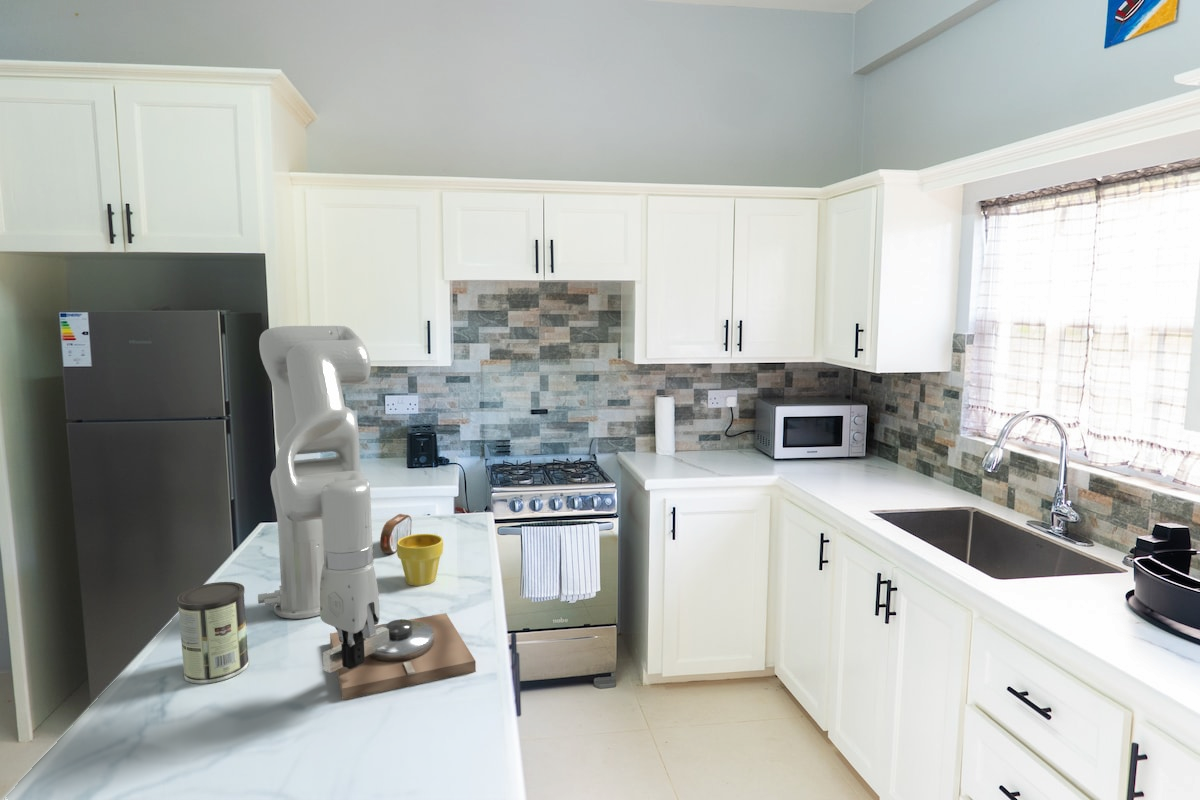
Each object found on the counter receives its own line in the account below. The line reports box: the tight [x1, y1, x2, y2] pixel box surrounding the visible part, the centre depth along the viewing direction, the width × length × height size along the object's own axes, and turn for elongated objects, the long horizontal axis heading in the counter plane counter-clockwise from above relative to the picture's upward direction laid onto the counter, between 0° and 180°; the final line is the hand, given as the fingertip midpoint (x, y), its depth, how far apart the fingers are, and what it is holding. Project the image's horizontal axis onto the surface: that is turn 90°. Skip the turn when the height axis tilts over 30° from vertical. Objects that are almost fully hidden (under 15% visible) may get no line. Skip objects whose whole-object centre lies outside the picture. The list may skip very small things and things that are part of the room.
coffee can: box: [176, 581, 250, 685], centre depth 126 cm, size 10×10×14 cm
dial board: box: [329, 612, 477, 701], centre depth 131 cm, size 22×22×2 cm
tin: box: [379, 513, 413, 554], centre depth 191 cm, size 15×3×8 cm, turn 172°
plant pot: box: [396, 533, 444, 587], centre depth 168 cm, size 10×10×10 cm
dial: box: [322, 619, 434, 674], centre depth 127 cm, size 21×12×4 cm, turn 145°
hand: (353, 664), depth 120 cm, fingers closed
